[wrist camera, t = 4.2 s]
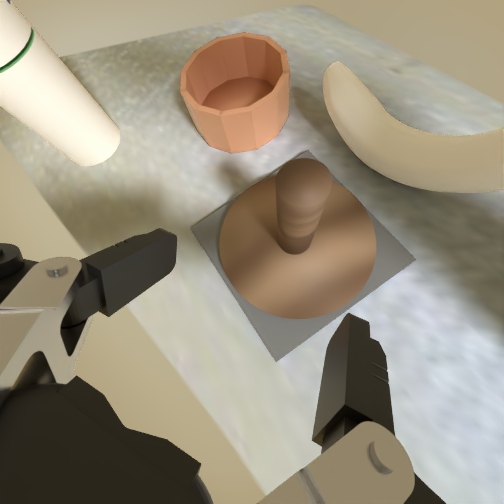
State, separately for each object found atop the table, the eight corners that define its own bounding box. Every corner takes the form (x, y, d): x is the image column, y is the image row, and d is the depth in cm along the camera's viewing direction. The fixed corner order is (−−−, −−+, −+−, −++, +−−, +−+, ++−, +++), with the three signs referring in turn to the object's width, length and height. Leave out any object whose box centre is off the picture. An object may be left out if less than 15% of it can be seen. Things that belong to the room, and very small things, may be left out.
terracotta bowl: (306, 117, 26) (311, 72, 22) (227, 168, 26) (215, 134, 21) (253, 67, 30) (247, 18, 25) (182, 111, 29) (162, 70, 24)
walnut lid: (407, 258, 20) (520, 201, 11) (277, 353, 19) (272, 383, 10) (307, 155, 24) (323, 49, 15) (196, 228, 23) (139, 166, 14)
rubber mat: (413, 260, 20) (416, 259, 20) (276, 361, 19) (275, 362, 19) (307, 153, 25) (307, 150, 25) (192, 230, 24) (190, 228, 24)
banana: (324, 106, 27) (372, -130, 13) (492, 196, 21) (894, -40, 7) (297, 133, 26) (316, -83, 12) (464, 234, 21) (844, 53, 7)
